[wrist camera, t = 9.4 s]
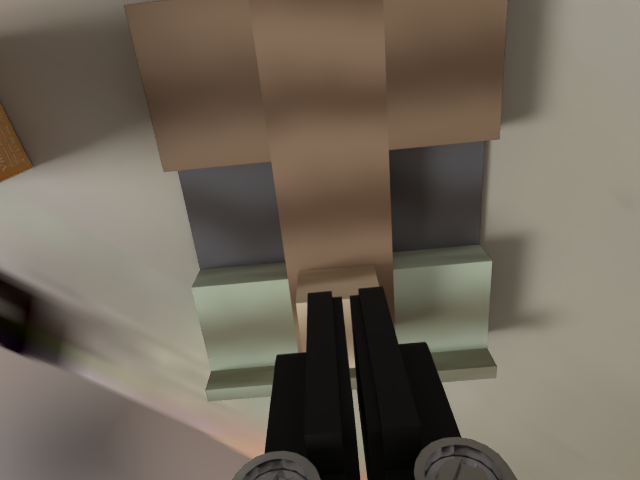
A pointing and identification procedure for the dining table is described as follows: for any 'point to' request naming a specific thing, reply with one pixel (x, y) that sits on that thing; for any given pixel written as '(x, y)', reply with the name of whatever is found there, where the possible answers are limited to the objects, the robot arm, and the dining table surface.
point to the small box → (10, 150)
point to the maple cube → (333, 294)
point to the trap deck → (328, 164)
